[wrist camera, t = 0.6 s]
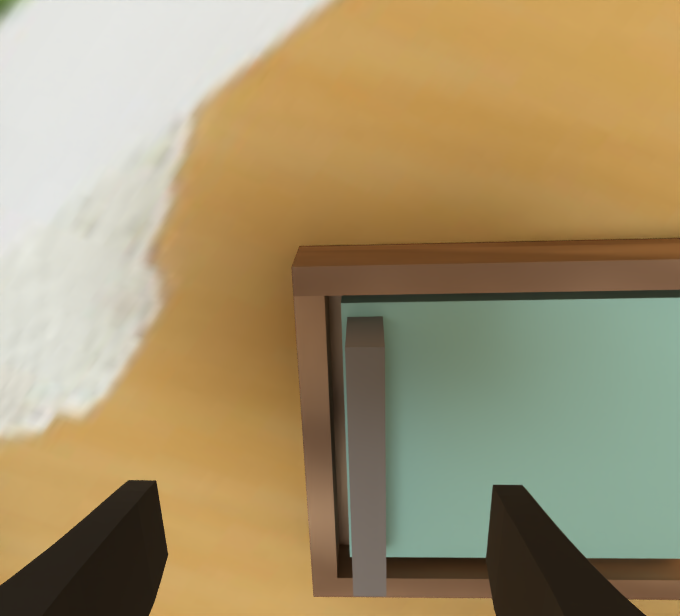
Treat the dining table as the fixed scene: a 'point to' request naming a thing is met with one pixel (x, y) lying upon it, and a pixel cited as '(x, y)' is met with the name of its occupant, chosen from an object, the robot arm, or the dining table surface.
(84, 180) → the dining table surface
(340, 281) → the walnut box
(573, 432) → the cover plate
